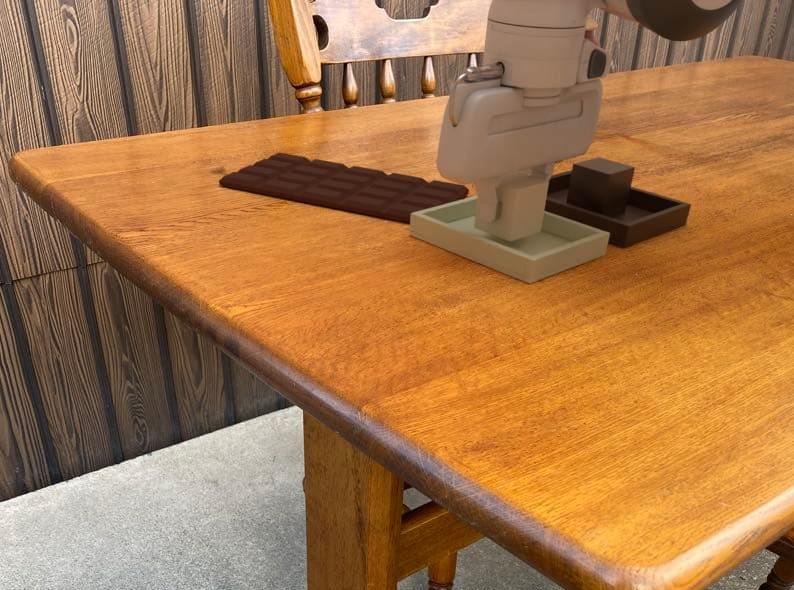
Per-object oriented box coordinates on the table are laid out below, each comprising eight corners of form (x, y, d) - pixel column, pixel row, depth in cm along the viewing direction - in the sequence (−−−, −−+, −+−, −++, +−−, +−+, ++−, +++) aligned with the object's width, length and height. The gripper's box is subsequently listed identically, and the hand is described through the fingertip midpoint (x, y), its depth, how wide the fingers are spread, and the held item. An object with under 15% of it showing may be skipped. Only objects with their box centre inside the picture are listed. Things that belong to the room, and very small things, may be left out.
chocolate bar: (468, 193, 95) (469, 185, 95) (425, 225, 86) (426, 216, 85) (278, 159, 103) (277, 151, 103) (219, 185, 94) (218, 176, 93)
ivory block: (541, 231, 82) (549, 181, 79) (510, 241, 79) (517, 189, 76) (504, 218, 84) (511, 169, 81) (473, 228, 82) (479, 177, 79)
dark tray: (685, 224, 90) (691, 204, 89) (624, 248, 84) (629, 226, 82) (570, 188, 99) (573, 169, 98) (505, 207, 92) (508, 186, 91)
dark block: (625, 212, 91) (635, 167, 88) (599, 221, 88) (609, 174, 85) (589, 201, 94) (598, 156, 91) (564, 209, 91) (572, 163, 88)
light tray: (605, 255, 82) (610, 232, 80) (529, 284, 75) (533, 260, 73) (486, 212, 91) (489, 191, 89) (409, 235, 84) (410, 212, 82)
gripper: (481, 75, 64) (464, 243, 73) (622, 55, 76) (592, 203, 84) (427, 62, 68) (417, 225, 77) (570, 45, 79) (546, 189, 88)
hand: (509, 213), depth 81 cm, fingers closed on ivory block, 5 cm apart
